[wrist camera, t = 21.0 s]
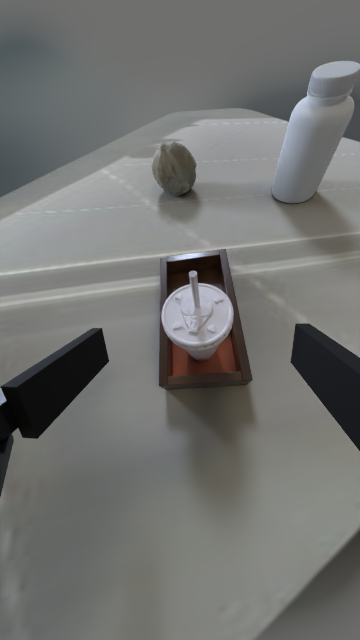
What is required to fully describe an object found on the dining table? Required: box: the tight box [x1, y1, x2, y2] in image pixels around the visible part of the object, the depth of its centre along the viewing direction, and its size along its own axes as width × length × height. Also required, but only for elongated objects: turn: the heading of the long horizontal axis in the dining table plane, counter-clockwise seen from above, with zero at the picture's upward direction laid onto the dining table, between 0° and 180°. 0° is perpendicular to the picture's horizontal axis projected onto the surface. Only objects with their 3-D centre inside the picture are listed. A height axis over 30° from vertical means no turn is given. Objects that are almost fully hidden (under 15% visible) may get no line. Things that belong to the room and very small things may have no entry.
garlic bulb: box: [152, 141, 196, 196], centre depth 39 cm, size 9×8×10 cm
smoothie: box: [161, 271, 234, 361], centre depth 19 cm, size 6×6×14 cm
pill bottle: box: [272, 61, 360, 203], centre depth 31 cm, size 8×8×15 cm
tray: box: [159, 249, 252, 390], centre depth 26 cm, size 10×19×4 cm, turn 2°
